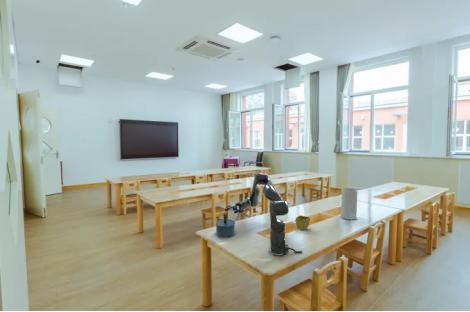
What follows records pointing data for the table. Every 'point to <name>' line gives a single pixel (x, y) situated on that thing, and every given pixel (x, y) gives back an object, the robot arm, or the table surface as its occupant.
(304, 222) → the flower pot
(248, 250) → the table surface
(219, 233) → the pot
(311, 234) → the table surface
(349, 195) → the cylinder vase
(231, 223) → the lid
